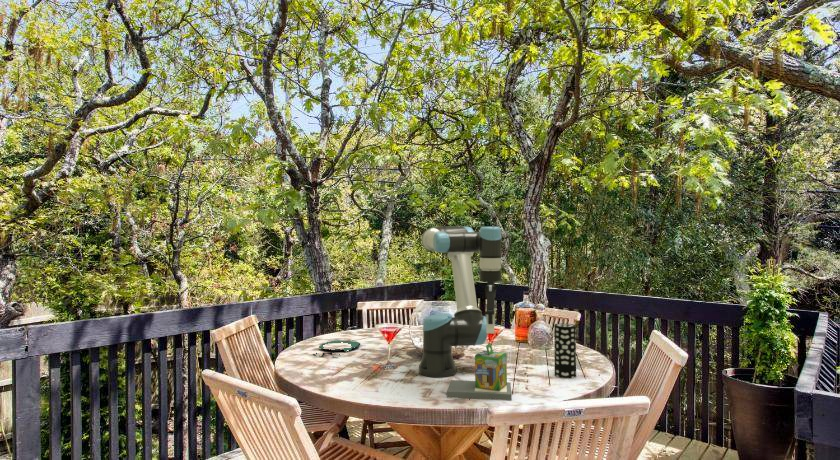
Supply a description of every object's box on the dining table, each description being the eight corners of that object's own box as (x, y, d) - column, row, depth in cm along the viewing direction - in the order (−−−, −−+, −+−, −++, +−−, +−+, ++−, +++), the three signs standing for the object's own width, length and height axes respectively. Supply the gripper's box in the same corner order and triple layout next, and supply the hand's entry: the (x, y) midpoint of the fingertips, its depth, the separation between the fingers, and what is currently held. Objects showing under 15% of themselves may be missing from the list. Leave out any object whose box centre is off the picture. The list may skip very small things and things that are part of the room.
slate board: (447, 397, 177) (446, 390, 177) (450, 385, 191) (450, 379, 191) (511, 400, 173) (511, 393, 173) (510, 387, 187) (510, 381, 187)
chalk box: (499, 391, 175) (498, 348, 175) (474, 387, 180) (474, 345, 180) (507, 384, 183) (507, 343, 184) (484, 381, 188) (483, 340, 188)
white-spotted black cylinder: (564, 379, 198) (564, 327, 198) (550, 374, 205) (549, 324, 206) (580, 376, 202) (580, 326, 202) (565, 371, 209) (565, 322, 209)
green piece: (366, 345, 260) (366, 340, 260) (341, 360, 232) (341, 355, 232) (330, 343, 266) (330, 339, 266) (302, 358, 237) (302, 353, 237)
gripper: (501, 272, 169) (501, 336, 169) (501, 267, 193) (501, 323, 193) (478, 272, 170) (478, 336, 170) (481, 267, 195) (481, 323, 194)
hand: (490, 329), depth 182 cm, fingers open, 13 cm apart
